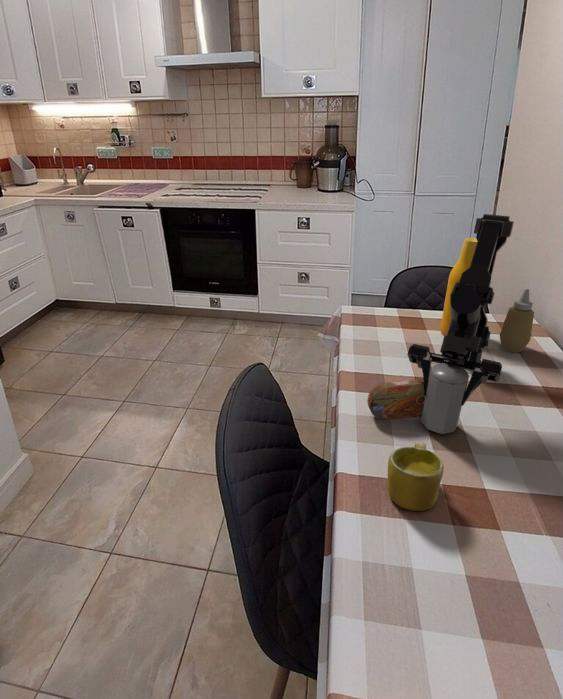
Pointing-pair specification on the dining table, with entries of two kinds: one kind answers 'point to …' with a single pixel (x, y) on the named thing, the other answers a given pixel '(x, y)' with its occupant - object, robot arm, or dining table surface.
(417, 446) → the mug
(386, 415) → the tin
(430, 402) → the grey domed canister
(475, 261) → the robot arm
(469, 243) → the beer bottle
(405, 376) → the dining table surface
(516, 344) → the squeeze bottle
